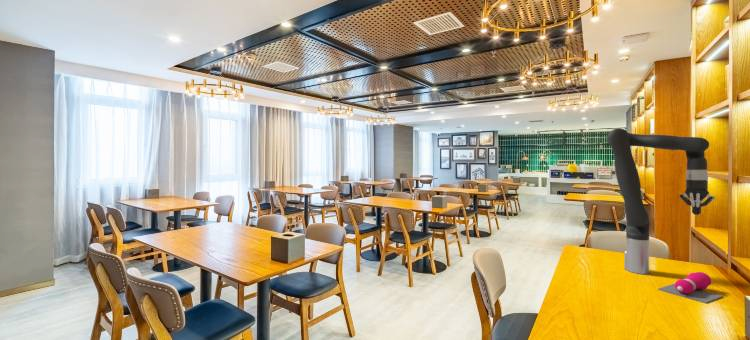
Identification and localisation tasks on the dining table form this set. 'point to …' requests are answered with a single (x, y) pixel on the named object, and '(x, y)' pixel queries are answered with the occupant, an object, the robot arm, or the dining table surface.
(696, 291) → the charcoal mat
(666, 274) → the dining table surface
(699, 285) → the pepper mill
